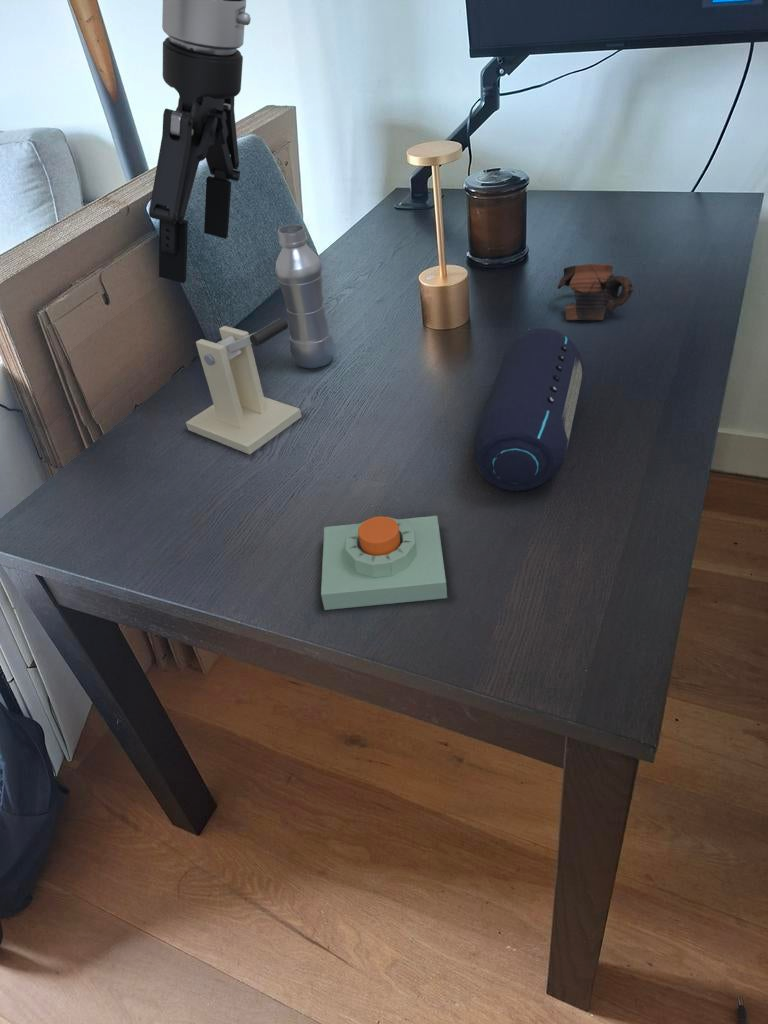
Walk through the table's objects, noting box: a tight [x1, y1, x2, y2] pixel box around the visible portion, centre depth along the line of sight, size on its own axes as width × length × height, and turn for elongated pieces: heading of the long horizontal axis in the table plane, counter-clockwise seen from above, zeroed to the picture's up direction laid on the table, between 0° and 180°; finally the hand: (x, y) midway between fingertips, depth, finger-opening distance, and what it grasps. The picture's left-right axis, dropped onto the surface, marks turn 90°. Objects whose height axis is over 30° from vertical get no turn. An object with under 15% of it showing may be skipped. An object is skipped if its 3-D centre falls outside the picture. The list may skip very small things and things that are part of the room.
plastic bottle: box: [274, 223, 336, 369], centre depth 107 cm, size 6×7×20 cm
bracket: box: [185, 325, 303, 455], centre depth 98 cm, size 12×10×13 cm
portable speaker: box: [474, 327, 585, 492], centre depth 89 cm, size 25×10×10 cm, turn 163°
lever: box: [216, 317, 289, 360], centre depth 92 cm, size 12×5×2 cm, turn 53°
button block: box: [320, 515, 448, 611], centre depth 76 cm, size 12×10×4 cm
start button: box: [358, 516, 400, 556], centre depth 75 cm, size 4×4×2 cm
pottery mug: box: [557, 263, 634, 321], centre depth 116 cm, size 12×10×8 cm
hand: (195, 255), depth 86 cm, fingers open, 13 cm apart
